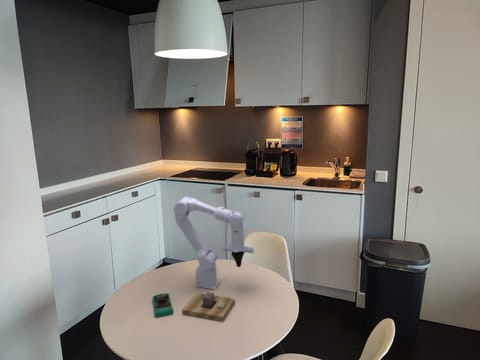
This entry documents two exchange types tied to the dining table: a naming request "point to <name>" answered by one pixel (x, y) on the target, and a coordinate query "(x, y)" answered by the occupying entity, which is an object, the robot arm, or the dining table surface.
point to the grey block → (208, 300)
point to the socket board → (215, 313)
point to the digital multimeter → (162, 305)
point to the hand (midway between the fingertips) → (239, 266)
